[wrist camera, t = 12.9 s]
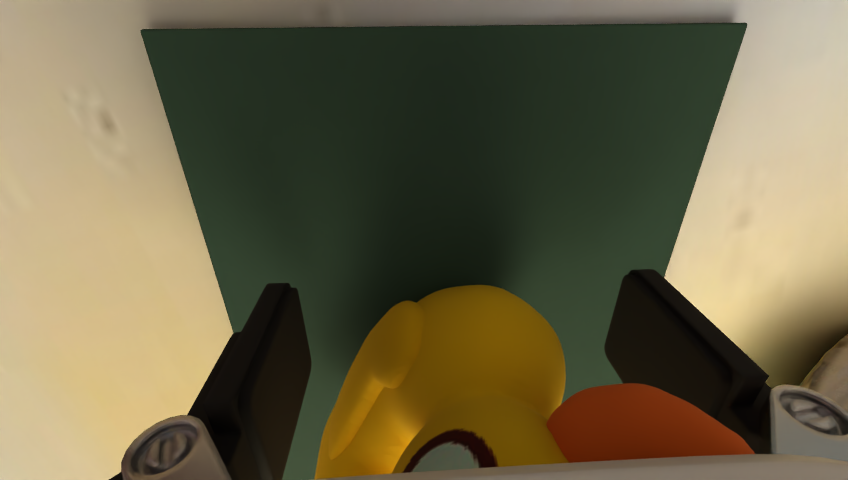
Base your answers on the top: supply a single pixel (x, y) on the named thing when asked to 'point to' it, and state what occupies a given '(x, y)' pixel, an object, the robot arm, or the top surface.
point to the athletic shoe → (831, 374)
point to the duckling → (493, 397)
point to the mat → (439, 170)
